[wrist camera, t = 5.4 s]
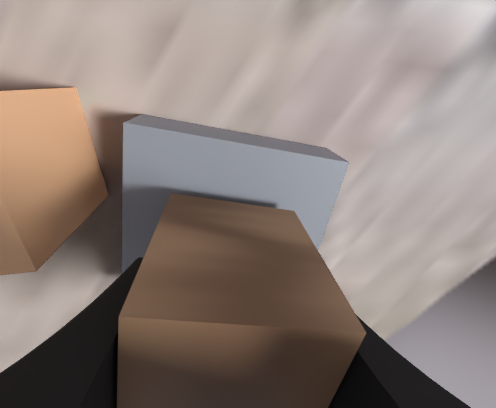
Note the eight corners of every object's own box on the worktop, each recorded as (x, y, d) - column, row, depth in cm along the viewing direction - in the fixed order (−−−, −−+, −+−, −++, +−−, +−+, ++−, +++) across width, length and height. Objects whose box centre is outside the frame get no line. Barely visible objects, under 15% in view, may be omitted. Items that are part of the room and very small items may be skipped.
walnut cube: (161, 293, 12) (116, 462, 7) (170, 193, 10) (118, 316, 5) (266, 302, 13) (301, 458, 8) (294, 210, 11) (366, 333, 6)
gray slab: (137, 268, 16) (121, 307, 13) (143, 113, 13) (123, 122, 10) (282, 282, 18) (293, 319, 15) (323, 146, 14) (349, 162, 11)
